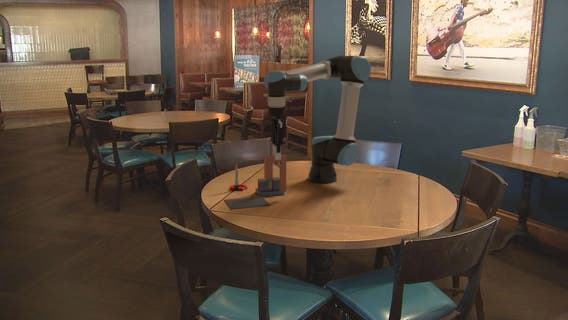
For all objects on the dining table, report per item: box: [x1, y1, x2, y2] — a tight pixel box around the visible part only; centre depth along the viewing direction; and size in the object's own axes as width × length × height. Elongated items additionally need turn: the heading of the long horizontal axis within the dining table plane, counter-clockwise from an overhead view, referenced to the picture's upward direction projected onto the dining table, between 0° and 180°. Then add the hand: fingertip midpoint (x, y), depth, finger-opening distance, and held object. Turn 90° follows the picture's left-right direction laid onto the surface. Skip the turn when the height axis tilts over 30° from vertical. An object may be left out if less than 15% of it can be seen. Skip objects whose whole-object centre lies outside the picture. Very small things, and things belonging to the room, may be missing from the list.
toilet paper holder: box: [254, 163, 285, 198], centre depth 226 cm, size 12×20×18 cm, turn 18°
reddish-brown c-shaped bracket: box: [263, 154, 287, 193], centre depth 220 cm, size 10×2×17 cm, turn 108°
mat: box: [223, 195, 272, 211], centre depth 219 cm, size 18×14×1 cm
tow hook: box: [229, 164, 248, 192], centre depth 242 cm, size 8×13×9 cm
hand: (276, 158), depth 219 cm, fingers closed on reddish-brown c-shaped bracket, 2 cm apart
